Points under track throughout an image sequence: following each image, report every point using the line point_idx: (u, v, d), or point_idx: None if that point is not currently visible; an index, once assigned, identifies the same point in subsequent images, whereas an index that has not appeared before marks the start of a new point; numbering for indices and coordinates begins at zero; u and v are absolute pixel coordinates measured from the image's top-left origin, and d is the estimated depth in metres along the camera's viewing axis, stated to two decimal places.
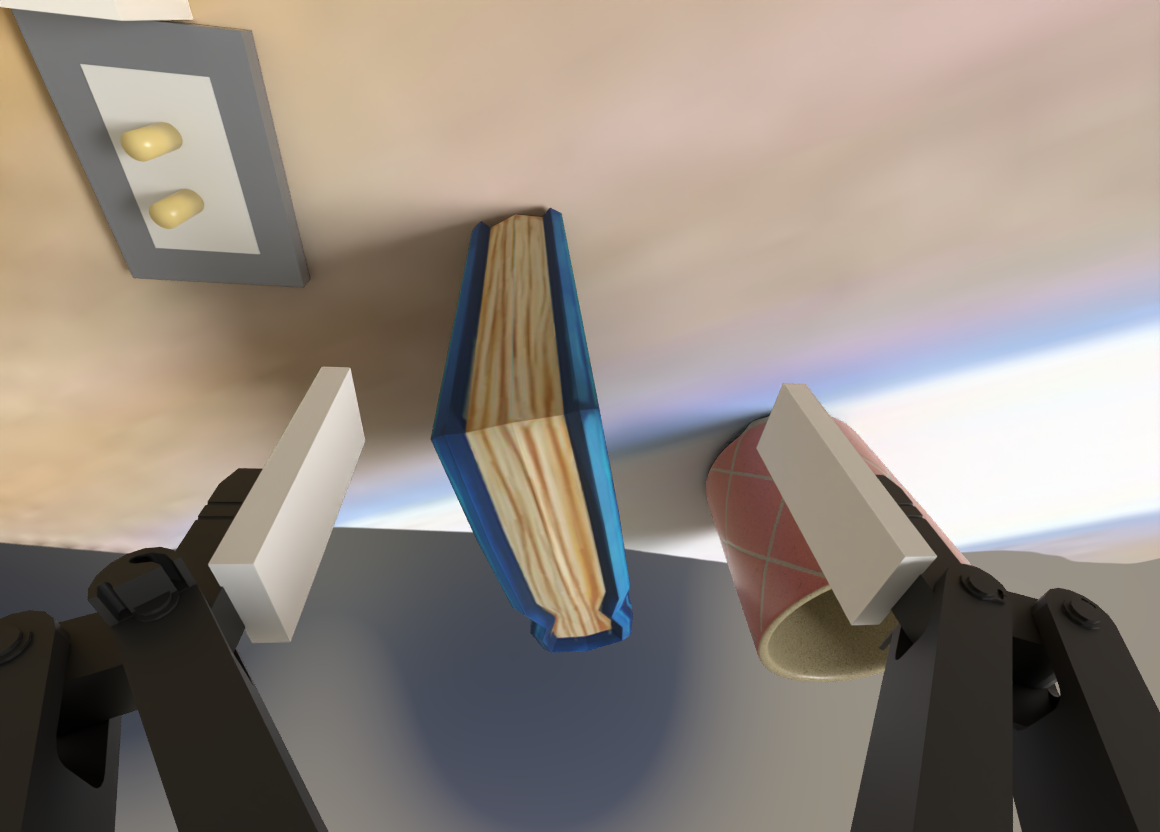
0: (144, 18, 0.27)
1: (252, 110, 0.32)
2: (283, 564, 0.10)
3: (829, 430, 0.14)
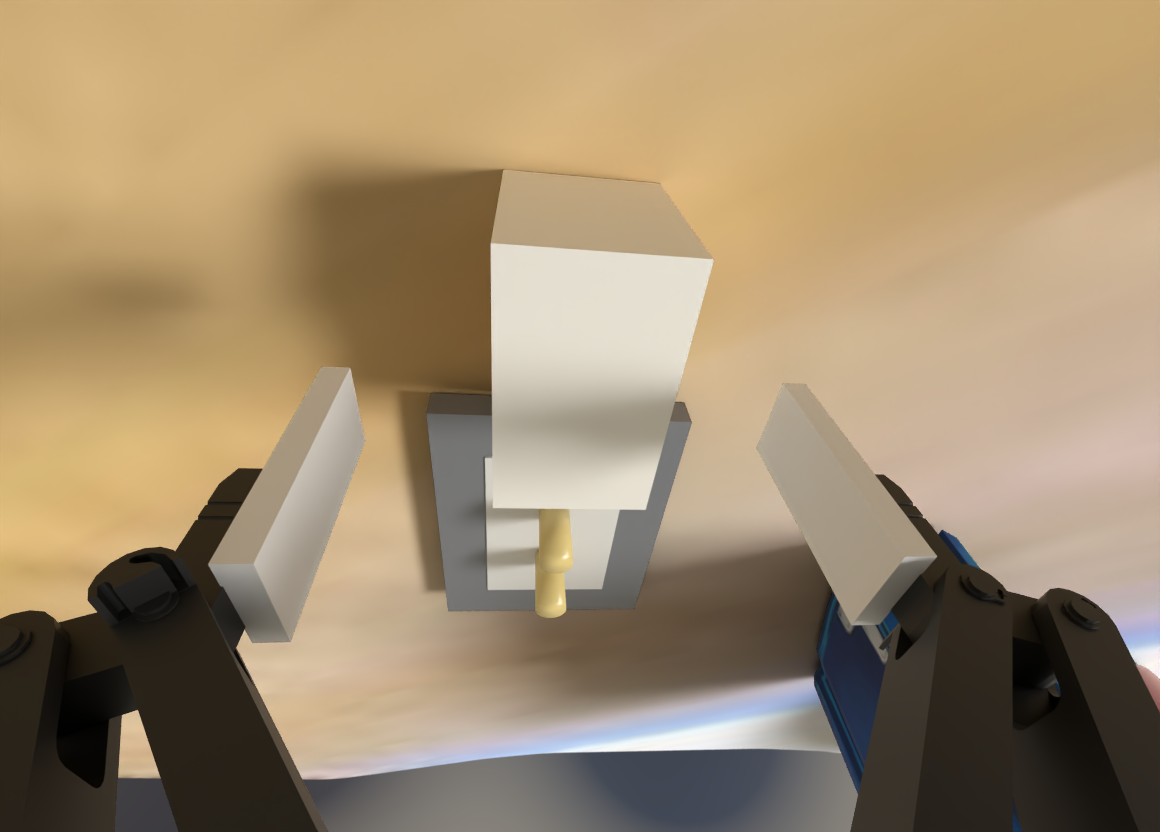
0: None
1: (663, 483, 0.26)
2: (283, 564, 0.10)
3: (829, 430, 0.14)
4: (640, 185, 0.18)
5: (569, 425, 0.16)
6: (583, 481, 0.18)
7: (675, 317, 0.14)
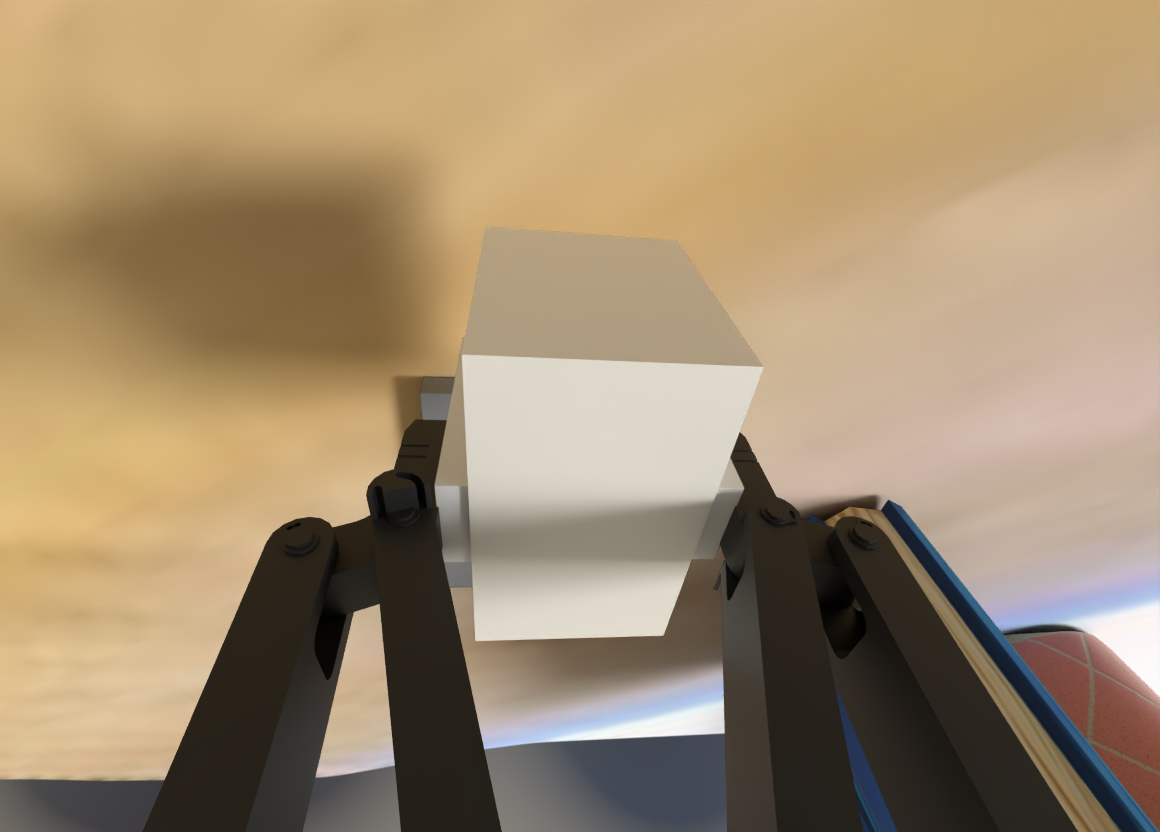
0: None
1: None
2: None
3: None
4: (653, 244, 0.15)
5: (570, 554, 0.13)
6: (587, 610, 0.14)
7: (709, 434, 0.11)
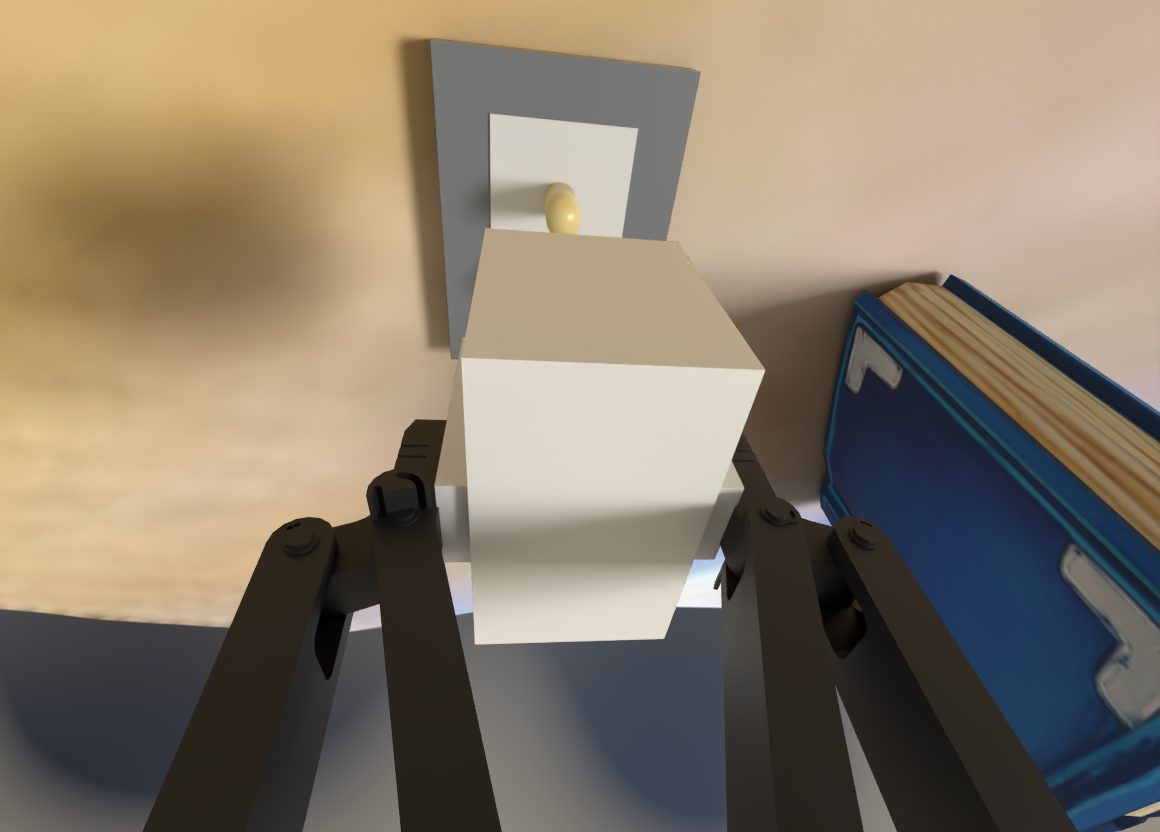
0: None
1: (671, 167, 0.26)
2: None
3: None
4: (654, 245, 0.15)
5: (570, 557, 0.13)
6: (587, 613, 0.14)
7: (710, 437, 0.11)
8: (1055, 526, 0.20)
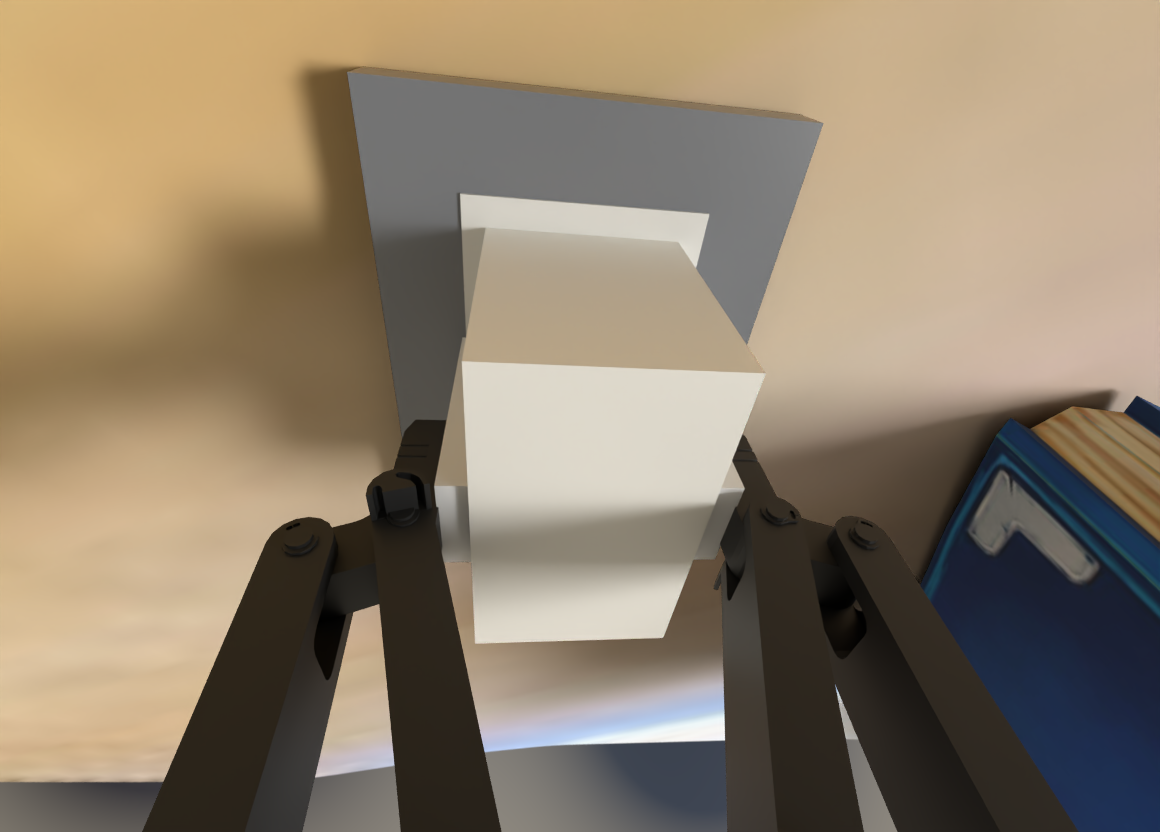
0: None
1: (757, 270, 0.16)
2: None
3: None
4: (654, 246, 0.15)
5: (571, 558, 0.13)
6: (587, 613, 0.14)
7: (710, 440, 0.11)
8: None
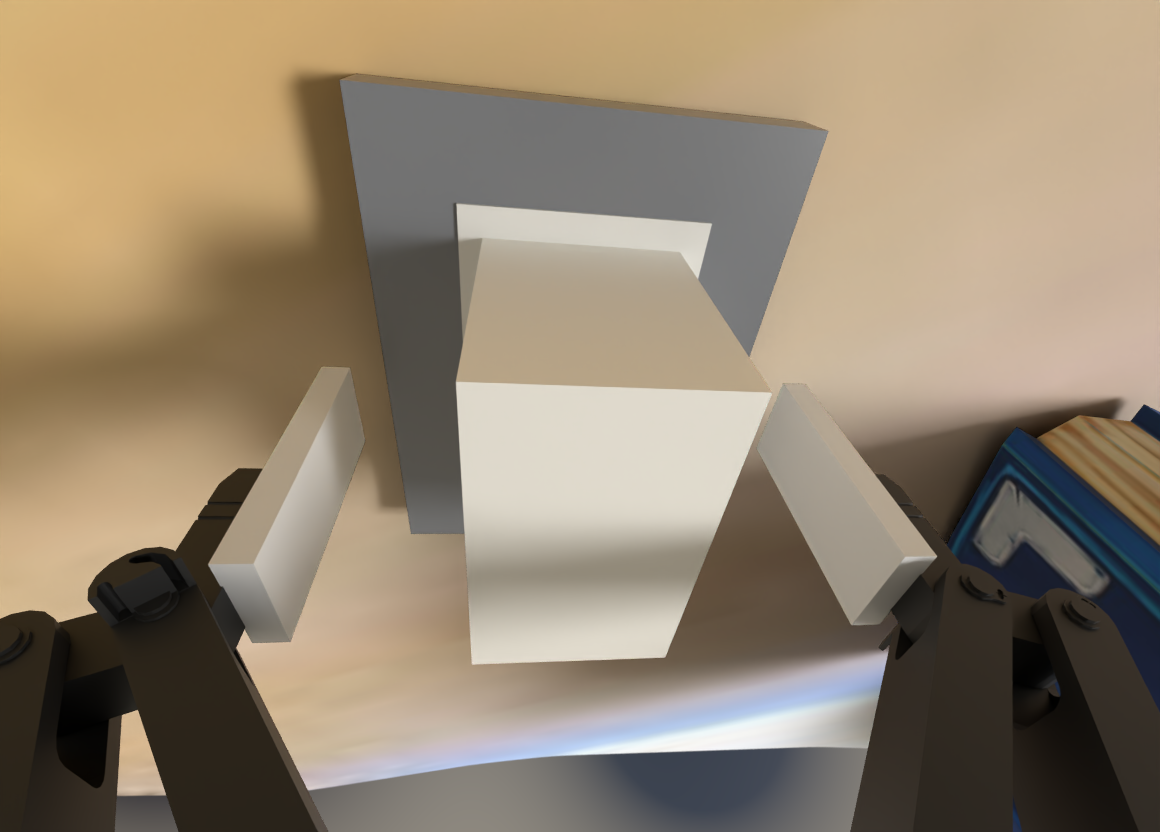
0: None
1: (760, 280, 0.16)
2: (283, 564, 0.10)
3: (829, 430, 0.14)
4: (655, 256, 0.14)
5: (569, 579, 0.12)
6: (587, 633, 0.14)
7: (714, 460, 0.10)
8: None
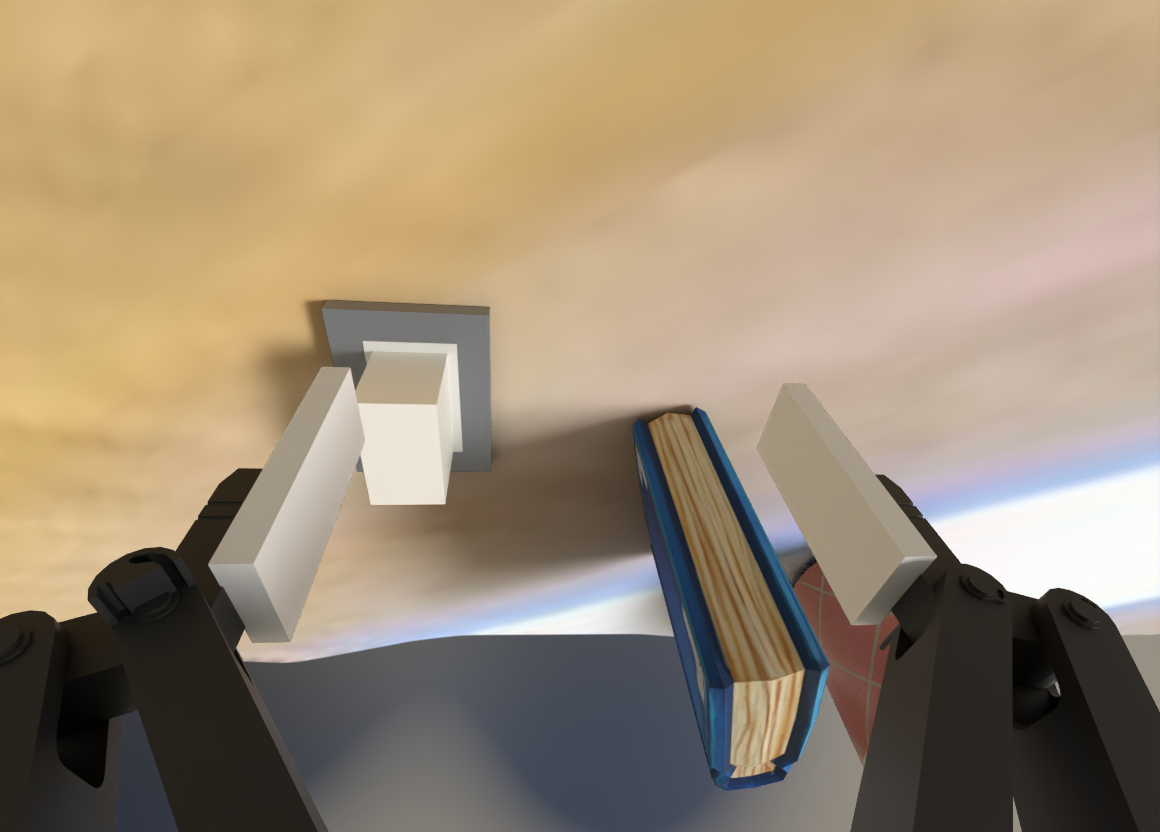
0: (447, 485, 0.42)
1: (483, 361, 0.41)
2: (283, 564, 0.10)
3: (829, 430, 0.14)
4: (436, 356, 0.40)
5: (397, 466, 0.37)
6: (410, 491, 0.39)
7: (429, 424, 0.35)
8: (678, 591, 0.35)
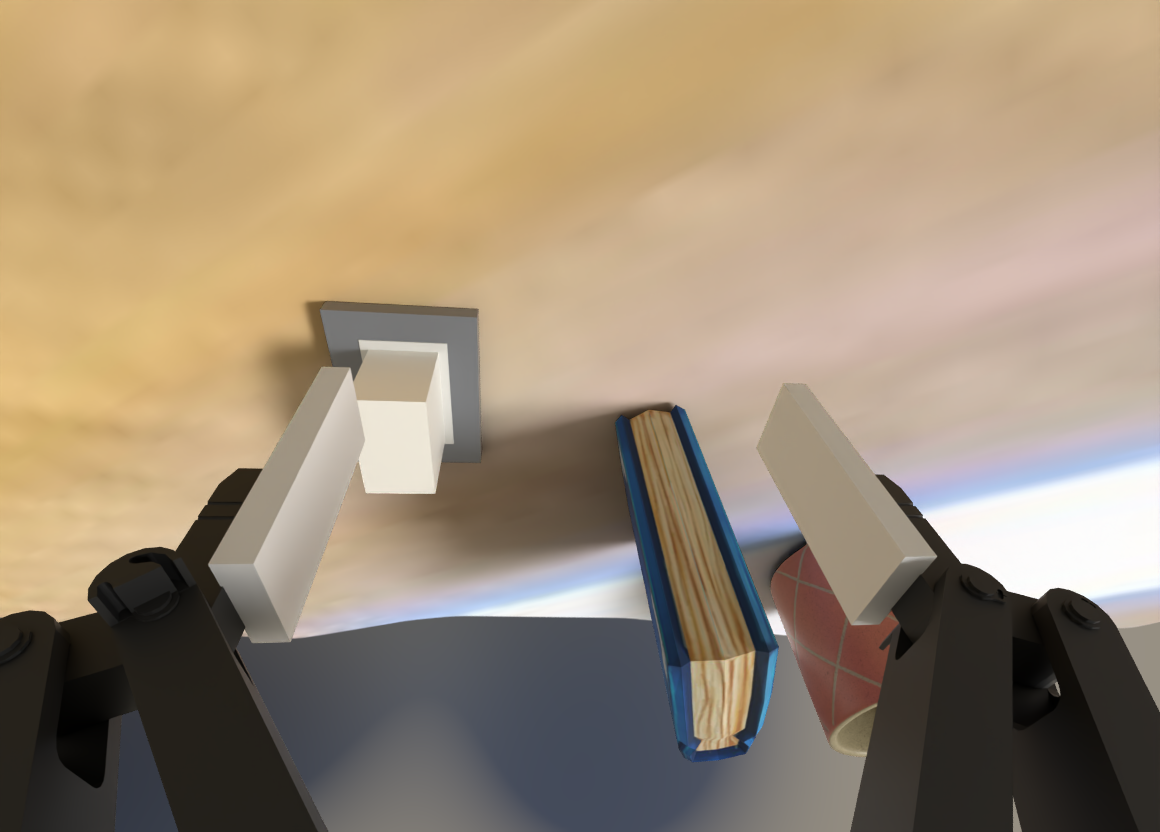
0: (438, 476, 0.45)
1: (472, 360, 0.44)
2: (283, 564, 0.10)
3: (829, 430, 0.14)
4: (427, 355, 0.42)
5: (390, 458, 0.40)
6: (402, 481, 0.42)
7: (419, 420, 0.38)
8: (648, 578, 0.38)
